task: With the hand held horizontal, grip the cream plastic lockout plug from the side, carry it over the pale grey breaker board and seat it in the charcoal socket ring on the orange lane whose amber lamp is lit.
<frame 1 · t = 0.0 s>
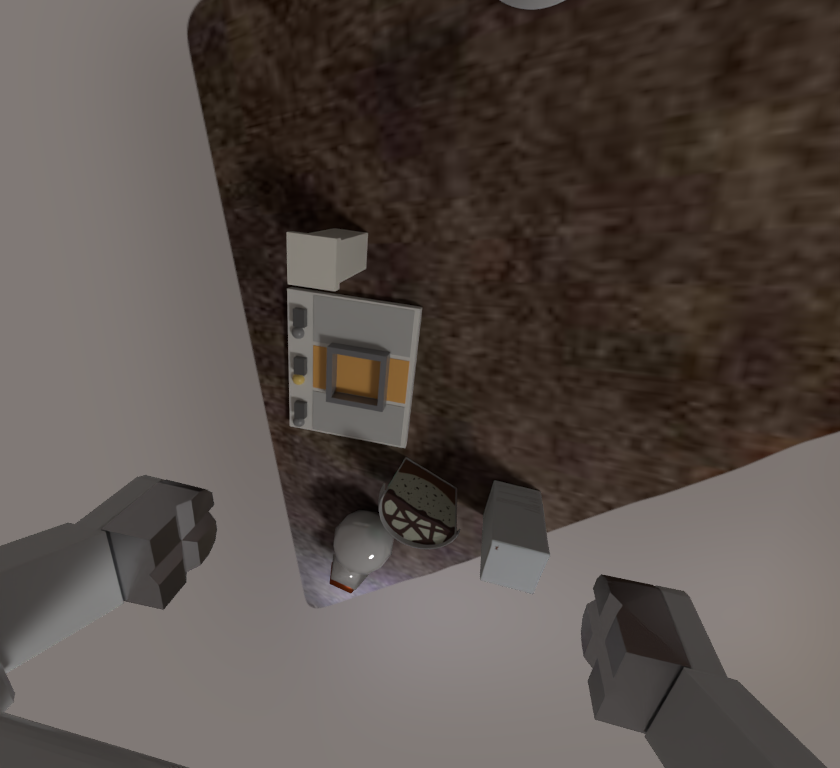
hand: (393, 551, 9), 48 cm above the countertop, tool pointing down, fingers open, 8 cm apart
supplement box: (511, 502, 66), on the countertop
breaker board: (352, 369, 62), on the countertop
lockout plug: (350, 248, 55), on the countertop
potion bottle: (367, 532, 74), on the countertop
food container: (421, 484, 68), on the countertop
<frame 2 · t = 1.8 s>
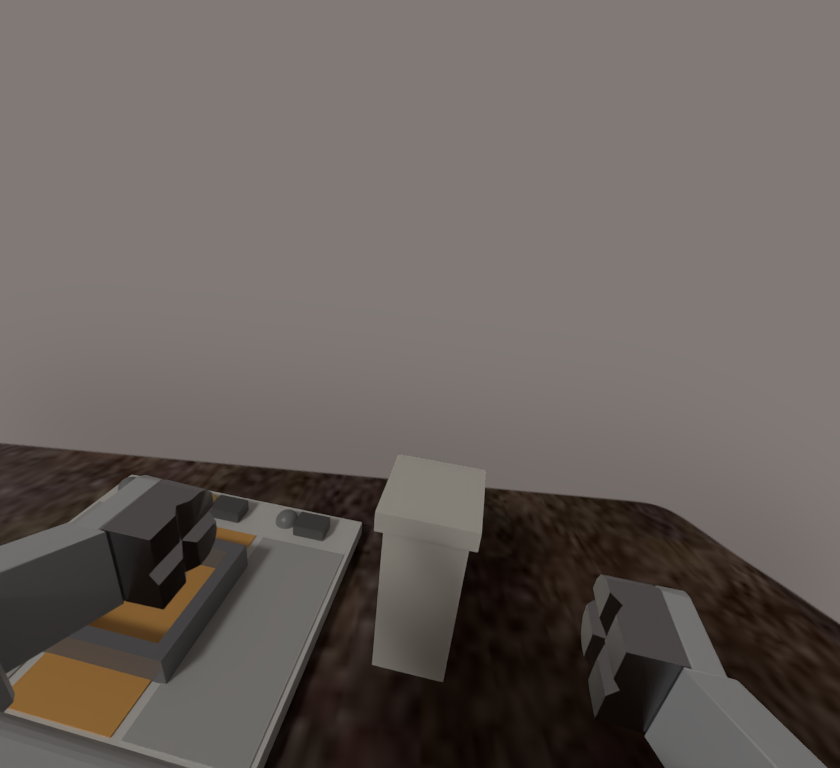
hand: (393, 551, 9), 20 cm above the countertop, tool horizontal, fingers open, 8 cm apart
breaker board: (171, 596, 29), on the countertop
lockout plug: (413, 639, 28), on the countertop
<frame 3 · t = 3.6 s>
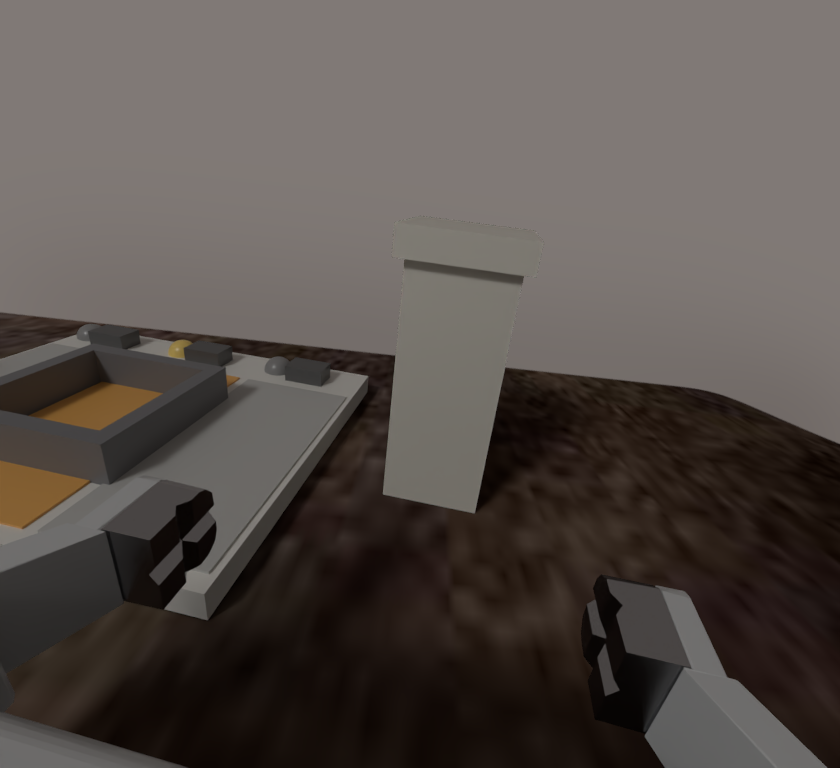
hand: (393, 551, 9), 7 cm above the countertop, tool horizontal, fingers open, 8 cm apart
breaker board: (131, 426, 23), on the countertop
lockout plug: (435, 476, 22), on the countertop
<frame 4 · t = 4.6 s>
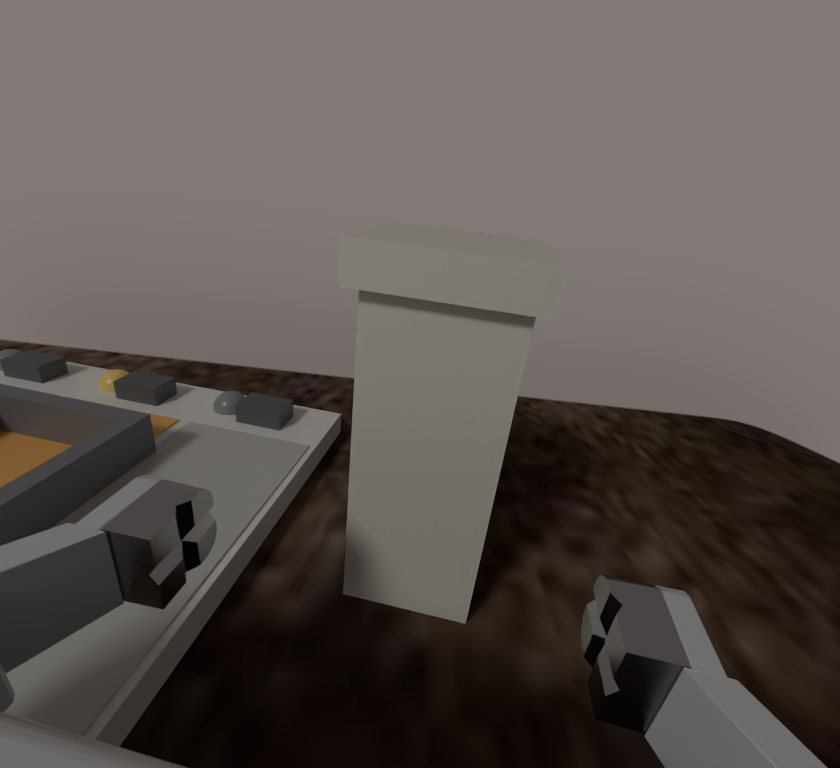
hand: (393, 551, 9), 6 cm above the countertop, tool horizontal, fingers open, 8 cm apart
breaker board: (27, 491, 18), on the countertop
lockout plug: (415, 560, 17), on the countertop
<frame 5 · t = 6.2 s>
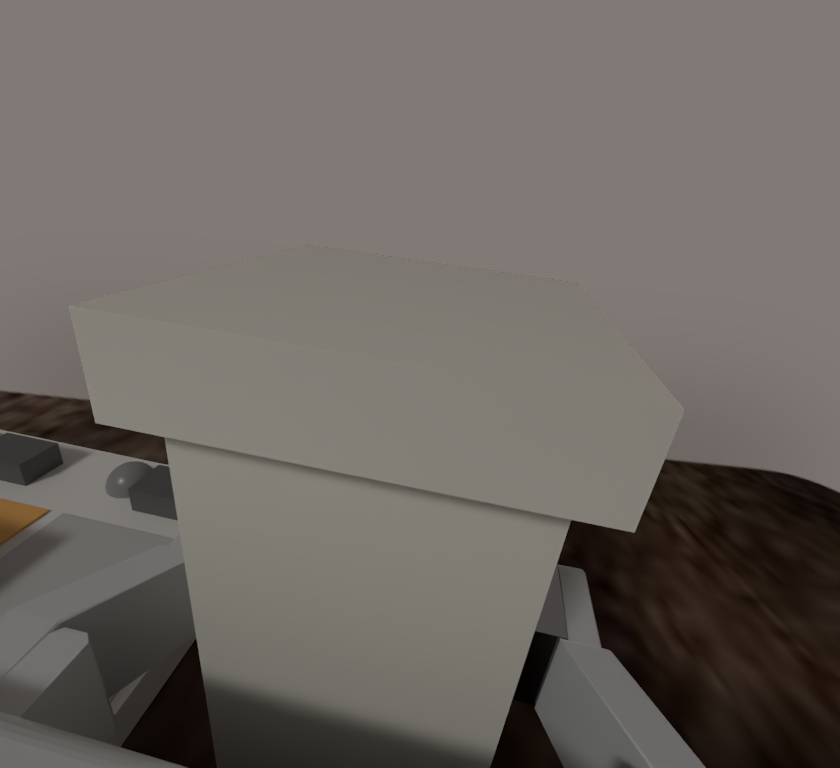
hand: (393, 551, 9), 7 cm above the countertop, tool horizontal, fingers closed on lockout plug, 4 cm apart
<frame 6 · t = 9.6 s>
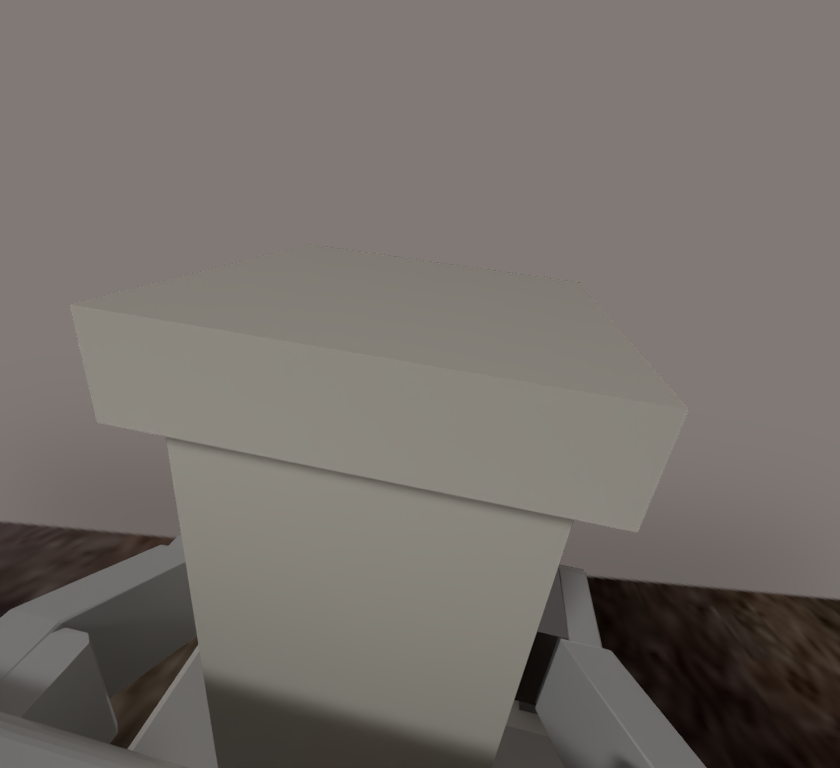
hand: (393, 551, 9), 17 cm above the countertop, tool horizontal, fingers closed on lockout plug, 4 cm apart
when the fingers open (9 cm above the countertop, at t = 11.3 s): lockout plug drops 1 cm, resting on breaker board.
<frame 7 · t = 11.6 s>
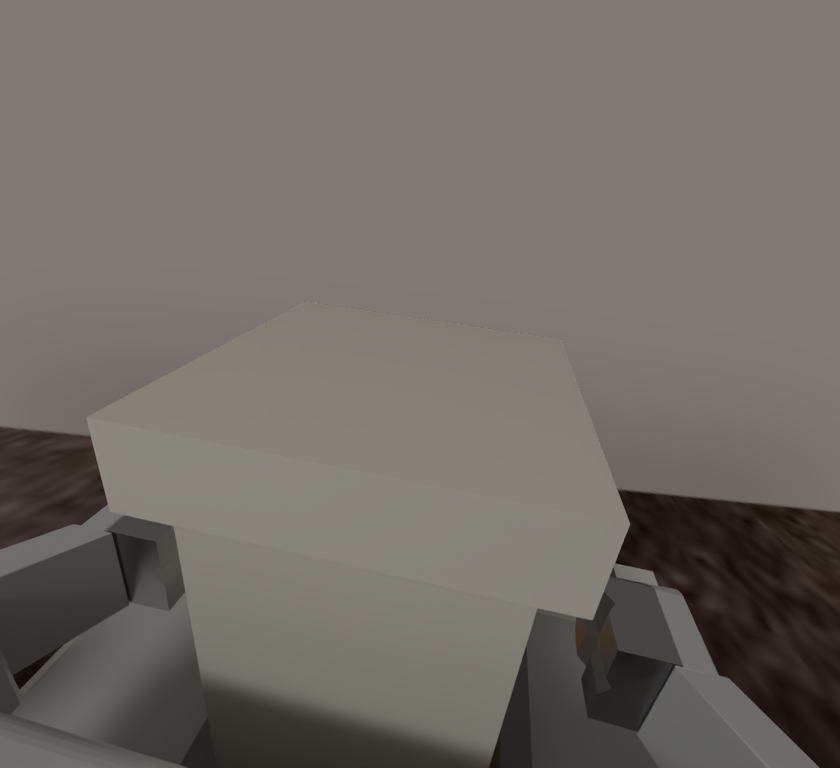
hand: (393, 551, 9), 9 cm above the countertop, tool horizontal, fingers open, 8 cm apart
breaker board: (373, 753, 13), on the countertop
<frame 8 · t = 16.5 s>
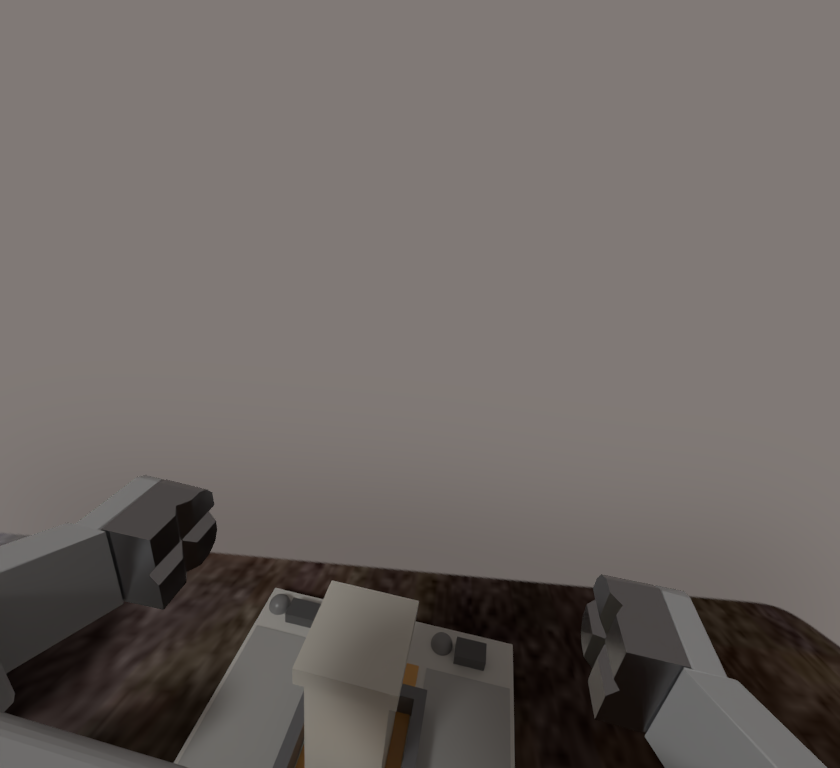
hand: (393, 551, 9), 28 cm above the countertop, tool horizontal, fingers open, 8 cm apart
breaker board: (357, 742, 30), on the countertop
lockout plug: (351, 758, 28), point 1 cm above the countertop, touching breaker board
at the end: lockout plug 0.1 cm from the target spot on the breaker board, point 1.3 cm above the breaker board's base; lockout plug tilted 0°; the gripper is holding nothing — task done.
